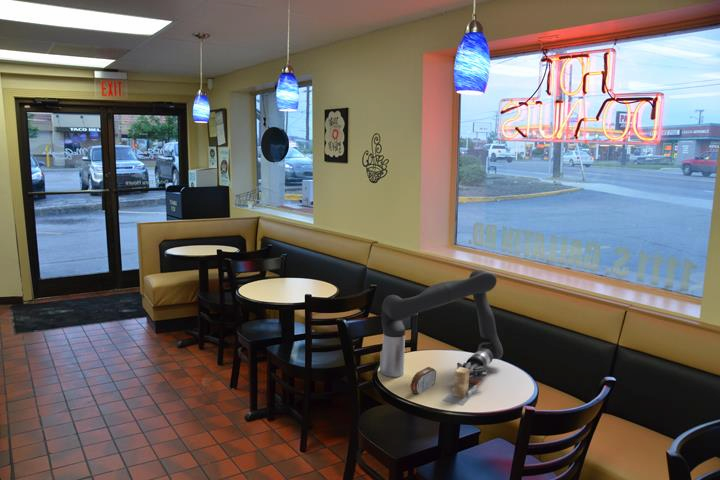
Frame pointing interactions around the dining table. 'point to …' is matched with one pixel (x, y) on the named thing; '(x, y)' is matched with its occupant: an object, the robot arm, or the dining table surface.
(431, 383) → the tin
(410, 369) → the dining table surface
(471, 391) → the long grey tray
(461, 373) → the oak block
